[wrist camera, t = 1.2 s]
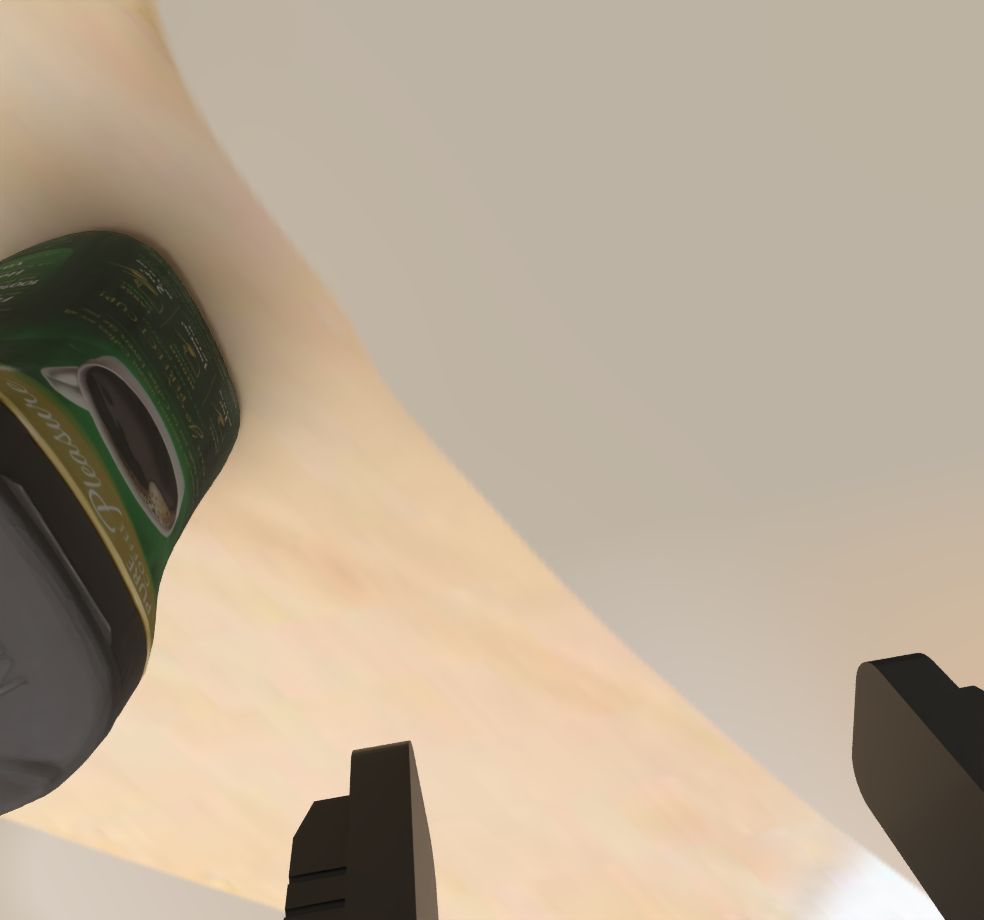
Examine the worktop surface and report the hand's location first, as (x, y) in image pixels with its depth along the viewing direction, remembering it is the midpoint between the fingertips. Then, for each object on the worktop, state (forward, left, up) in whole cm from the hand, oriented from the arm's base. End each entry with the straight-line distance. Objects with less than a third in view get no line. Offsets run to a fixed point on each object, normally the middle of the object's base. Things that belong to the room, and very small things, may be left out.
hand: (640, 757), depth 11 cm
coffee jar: (0, -13, -24) cm, 27 cm away
